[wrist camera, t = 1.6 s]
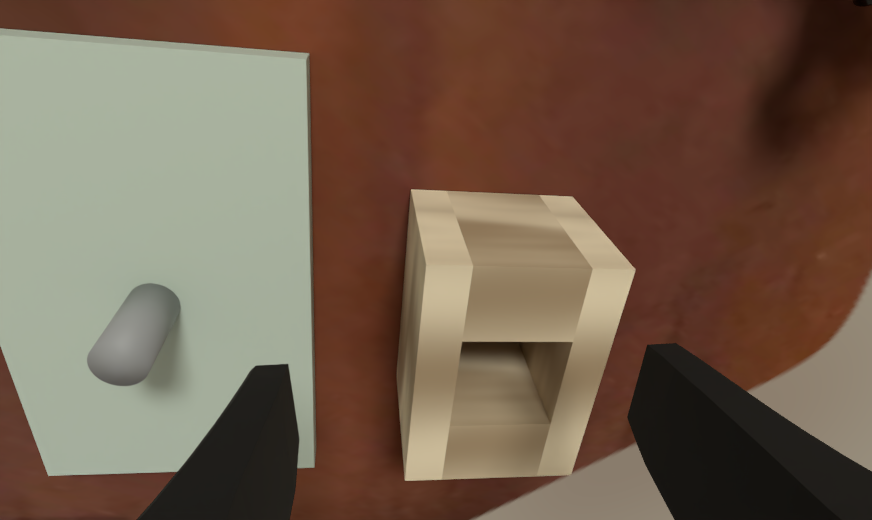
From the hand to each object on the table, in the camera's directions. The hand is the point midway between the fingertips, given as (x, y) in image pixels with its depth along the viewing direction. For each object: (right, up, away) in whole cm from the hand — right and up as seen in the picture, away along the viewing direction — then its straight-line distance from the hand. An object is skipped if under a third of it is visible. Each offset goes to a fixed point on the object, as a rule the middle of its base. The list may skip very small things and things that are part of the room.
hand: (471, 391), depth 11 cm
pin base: (-10, +2, +8) cm, 13 cm away
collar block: (+1, +1, +9) cm, 9 cm away
